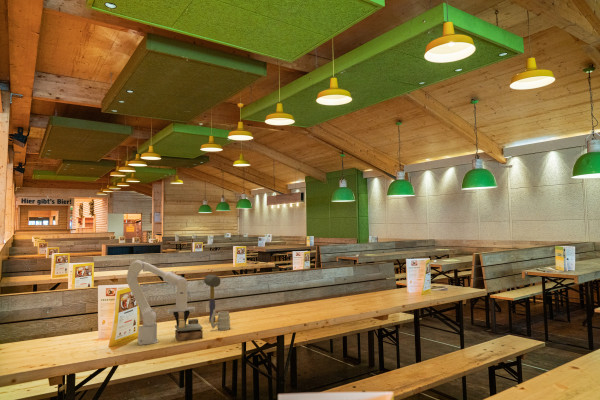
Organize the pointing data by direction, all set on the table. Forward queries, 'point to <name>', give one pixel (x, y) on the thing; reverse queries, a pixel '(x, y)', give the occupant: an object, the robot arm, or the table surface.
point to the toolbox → (189, 333)
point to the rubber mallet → (212, 291)
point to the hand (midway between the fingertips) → (181, 325)
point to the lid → (187, 326)
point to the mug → (221, 320)
